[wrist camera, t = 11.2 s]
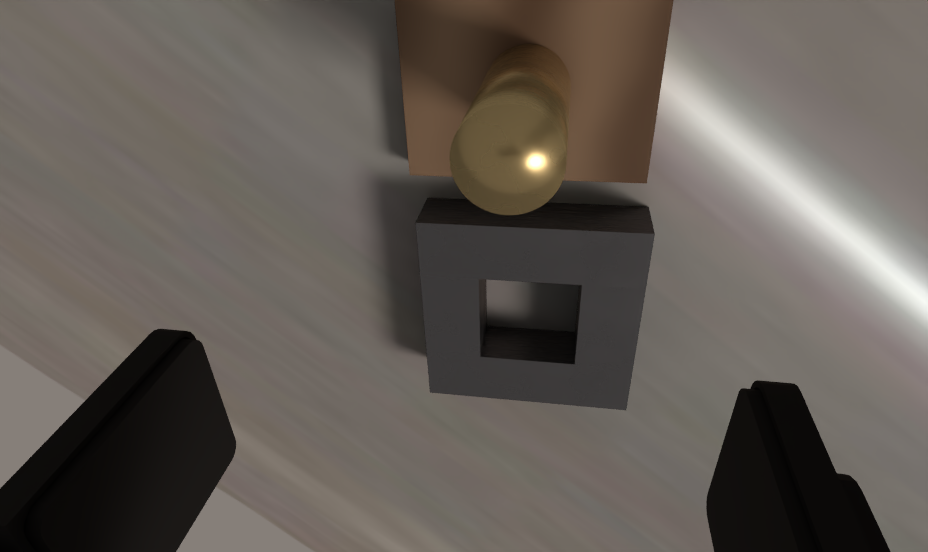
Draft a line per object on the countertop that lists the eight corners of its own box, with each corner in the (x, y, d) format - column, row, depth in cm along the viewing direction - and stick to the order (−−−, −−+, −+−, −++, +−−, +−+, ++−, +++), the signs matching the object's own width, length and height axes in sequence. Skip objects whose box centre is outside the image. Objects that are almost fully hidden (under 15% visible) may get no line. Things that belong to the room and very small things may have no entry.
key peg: (573, 43, 26) (570, 105, 19) (568, 131, 28) (563, 217, 21) (484, 43, 27) (446, 103, 19) (485, 129, 29) (452, 212, 22)
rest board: (671, -24, 26) (676, -20, 24) (643, 171, 30) (646, 183, 29) (401, -20, 27) (393, -16, 26) (416, 163, 32) (409, 175, 31)
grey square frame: (648, 206, 31) (654, 234, 29) (622, 376, 38) (626, 410, 35) (427, 197, 33) (415, 222, 31) (439, 361, 40) (430, 392, 37)
